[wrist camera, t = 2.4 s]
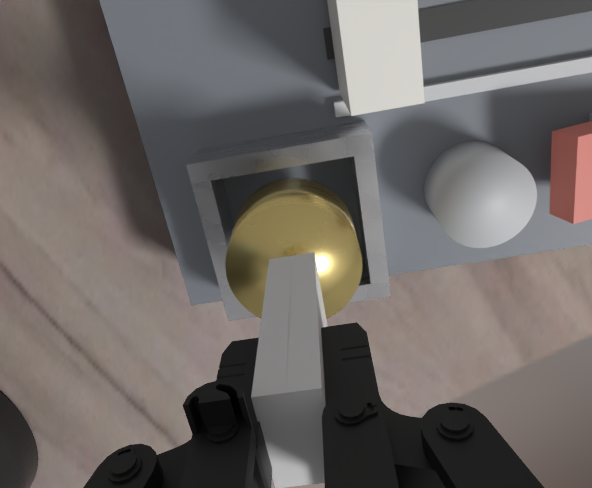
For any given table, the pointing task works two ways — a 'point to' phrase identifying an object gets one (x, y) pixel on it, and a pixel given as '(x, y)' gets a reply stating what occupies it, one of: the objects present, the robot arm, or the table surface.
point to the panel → (366, 118)
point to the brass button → (294, 241)
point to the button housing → (282, 154)
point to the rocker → (571, 173)
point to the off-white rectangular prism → (377, 53)
